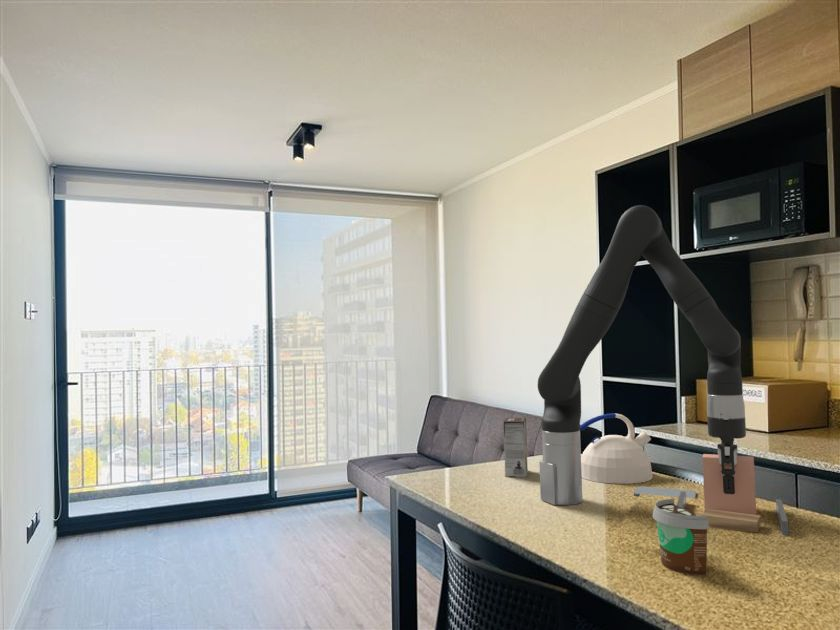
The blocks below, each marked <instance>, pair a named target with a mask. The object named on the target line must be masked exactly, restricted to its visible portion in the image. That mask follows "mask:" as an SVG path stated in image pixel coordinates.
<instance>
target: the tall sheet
mask: <svg viewBox="0 0 840 630" xmlns="http://www.w3.org/2000/svg"><path fill="white" fill-rule="evenodd" d="M736 457H737V467H735V468H734V470H735V476H734V482H735V494H725V493H724V492H723V476H722V474H721V470H722V467H721V466H720V465H719V454H714V453H713V454H711V453H710V454H709V453H703V454H702V476H703V477H702V478H703V497H704V498H703V499H704V500H703V502H704V511H705V510H706V509H711V510H719V511H727V512H735V513H743V514H751V515H757V499H756V498H757V495H756V477H755V475H756V474H755V459H754V456H749V455H748V456H747V455H737V456H736ZM724 469H732V467H724Z"/></svg>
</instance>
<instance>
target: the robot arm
mask: <svg viewBox="0 0 840 630" xmlns="http://www.w3.org/2000/svg"><path fill="white" fill-rule="evenodd" d="M609 243H610V244H609V246H608V248H607V251H606V252H605V255H604V256H603V258H602V260H601V262H600V264H599V265H598V267H597V269H596V270H595V271H594V273H593V275H592V277H591V278H590V280H589V283H588V284H587V285H586V287H585V289H584V291H583V293H582V295H581V297H580V299H579V301H578V303H577V305H576V307H575V308H574V312H573V313H572V315H571V317H570V320H569V322H568V324H567V327H566V329H565V331H564V333H563V335H562V338H561V341H560V342H559V344H558V346H557V348H556V350H555V351H554V353H553V354H552V356H551V357H550V359H549V360H548V362H547V363H546V365H545V366H544V367H543V369H542V370H541V372H540V374H539V376H538V379H537V391H538V394H539V395H540V397H541V398H542V399H543V400H544V401H543V402H544V403H543V404H544V405H543V406H544V409H543V414H542V419H541V442H542V443H541V446H542V449H541V450H542V460H540V461H539V464H538V465H539V486H540V488H539V489H540V490H539V491H540V494H539V496H540V500H541V501H544V502H546V503H549V504H551V505H552V506H553V505H554V506H555V505H557V506H558V505H561V506H562V505H563V506H568V505H569V506H571V505H578V504H580V503H582V502H583V481H582V479H583V478H582V474H581V457H582V451H581V449H582V448H581V430H580V426H581V419H582V389H581V388H582V385H581V379H580V374H581V372H582V370H583V367H584V365H585V363H586V361H587V360H588V358H589V356H591V355H590V354H592V352H593V351H594V349H595V348H596V346H597V345H598V344H599V343H600V342H601V341H602V339H603V338H604V336H605V335H606V333H607V332H608V331H609V330H610V328H611V326H612V324H613V322H614V321H615V319H616V318H617V315H618V313H619V311H620V309H621V307H622V304H623V303H624V301H625V300H624V299H625V298H626V294H627V291H628V289H629V283H630V280H631V277H632V274H633V271H634V269H635V268H636V265H637V263H638V262H639V260H640V258H641V256H642V257H643V258H644V260H646V261H647V262H648V264H649V265H650V267H651V268H652V269H654V271H655V273H656V275H657V276H658V278H659V279H660V281H661V283H662V284H663V286H664V288H665V289H666V291H667V293H668V294H669V296H670V297H671V299H672V300H673V302H674V304H676V306H677V308H678V309H679V310H680V311H681V313H682V314H683V316H684V317H685V318H686V320H687V321H688V322H689V323H690V324H691V326H692V328H693V330H694V331H695V333H696V334H697V337H698V338H699V339H700V340H701V342H702V343H703V345H704V347H705V348H706V349H707V363H708V364H707V365H708V370H707V375H706V386H707V389H706V391H707V399H706V414H707V415H706V416H707V434H708V436H710V437H711V438H719V439H720V441H721V443H717V446H716V448H717V455H719V465H720V466H721V467H722V470H721V474H722V476H723V492H724V493H725V494H735V482H734V476H735V470H734V468H735V467H737V457H736V456H739V455H738V454H739V453H738V450H739V449H738V444H734V442H735V439H743V438H745V437H746V436H747V429H746V428H747V427H746V409H745V408H746V406H745V400H744V395H743V394H744V390H743V375H742V370H741V365H742V364H741V363H742V362H741V359H742V358H741V356H742V353H741V351H742V345H741V344H742V343H741V342H742V340H741V335H740V333H739V331H738V330H737V329H736V328H735V327H733V325H732V324H731V323H730V321H729V320H728V319H727V318H726V317H725V315H724V314H723V313H722V311H721V310H720V309H719V307H718V306H717V303H716V301H715V300H714V298H713V297H712V296H711V294H710V293H709V292H708V290H707V289H706V288H705V286H704V284H703V283H702V282H701V281H700V279H699V278H698V277H697V276H696V275H695V273H693V271H692V270H691V269H690V268H689V267H688V265H687V264H686V263H685V262H684V261H683V260H682V258H681V257H680V256H679V254H678V253H677V251H676V250H675V249H674V246H673V245H672V243H671V242H670V240H669V238H668V235H667V234H666V231H665V230H664V228H663V224H662V220H661V218H660V217H659V215H658V213H656V211H655V210H654V209H652V208H651V207H649V206H648V205H643V204H642V205H641V204H638V205H634V206H631V207H630V208H628V209H627V210H625V211H624V213H622V214H621V216H620V218H619V219H618V222H617V225H616V227H615V230H614V233H613V235H612V238H611V241H610V242H609ZM724 467H732V469H724Z"/></svg>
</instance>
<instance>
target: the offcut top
mask: <svg viewBox="0 0 840 630" xmlns="http://www.w3.org/2000/svg"><path fill="white" fill-rule="evenodd" d="M701 516H707V520H708V524H709V526H715V527H722V528H730V529H729V530H731V529H737V530H736V531H739V530H744V531H743V532H748V531H751V532H750V533H757V532H758V533H759V531H760V528H761V525H762V523H761V515H759V514H756V515H751V514H743V513H735V512H727V511H719V510H711V509H706V510H705V509H704V511H703V512H702V513H701ZM722 528H721V529H722Z"/></svg>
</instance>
